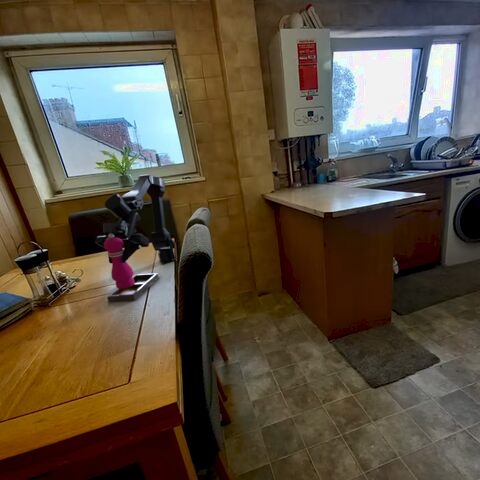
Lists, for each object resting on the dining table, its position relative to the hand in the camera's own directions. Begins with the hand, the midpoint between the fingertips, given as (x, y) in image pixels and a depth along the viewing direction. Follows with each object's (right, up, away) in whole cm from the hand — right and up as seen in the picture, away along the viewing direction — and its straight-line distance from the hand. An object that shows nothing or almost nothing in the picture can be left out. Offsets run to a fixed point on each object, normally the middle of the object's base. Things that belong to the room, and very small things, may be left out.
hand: (116, 262), depth 98 cm
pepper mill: (+1, -8, +5) cm, 10 cm away
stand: (+2, -10, +10) cm, 14 cm away
